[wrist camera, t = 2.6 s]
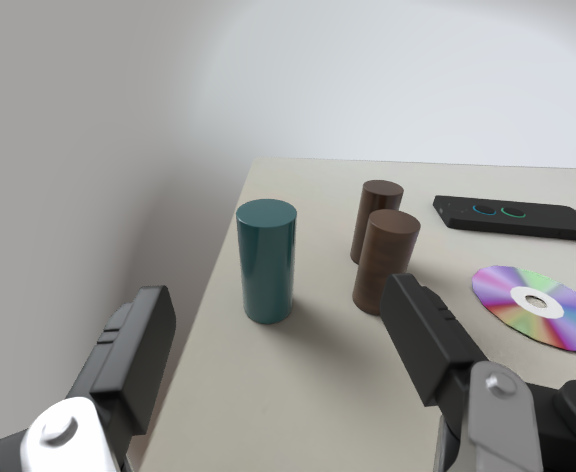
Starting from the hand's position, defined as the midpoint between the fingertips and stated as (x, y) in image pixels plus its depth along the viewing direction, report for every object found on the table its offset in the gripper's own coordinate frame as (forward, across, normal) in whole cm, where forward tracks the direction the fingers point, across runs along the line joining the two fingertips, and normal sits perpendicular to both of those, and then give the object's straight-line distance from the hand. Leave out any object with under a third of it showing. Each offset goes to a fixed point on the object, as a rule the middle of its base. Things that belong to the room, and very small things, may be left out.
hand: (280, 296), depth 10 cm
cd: (+10, -26, +13) cm, 31 cm away
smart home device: (+25, -37, +13) cm, 46 cm away
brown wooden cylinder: (+11, -10, +12) cm, 20 cm away
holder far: (+18, -12, +12) cm, 25 cm away
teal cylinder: (+11, 0, +12) cm, 17 cm away
